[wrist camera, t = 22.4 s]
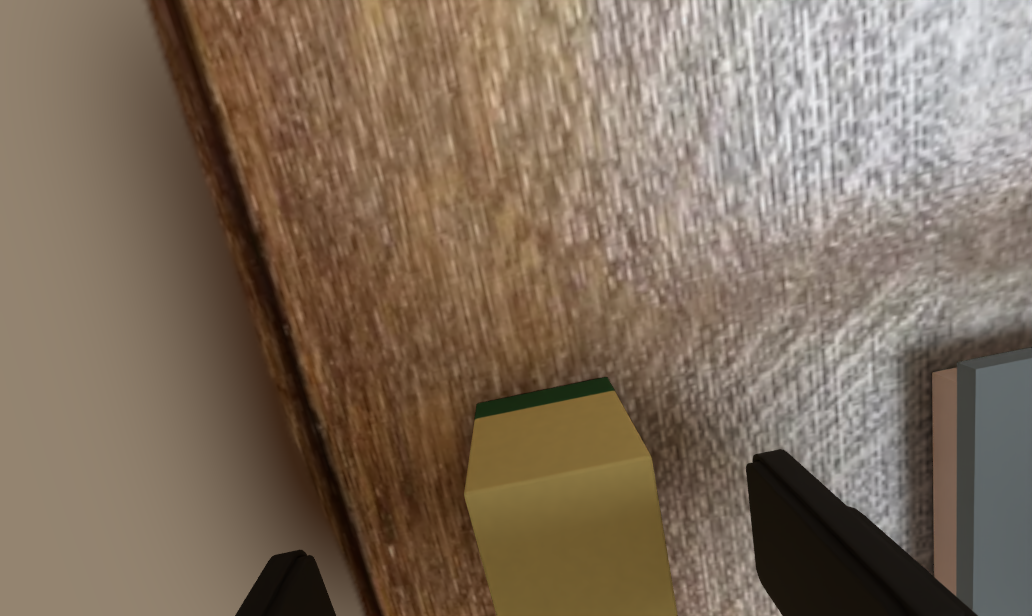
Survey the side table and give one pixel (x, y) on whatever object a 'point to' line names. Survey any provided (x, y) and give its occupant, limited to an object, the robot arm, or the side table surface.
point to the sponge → (567, 506)
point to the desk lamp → (984, 482)
